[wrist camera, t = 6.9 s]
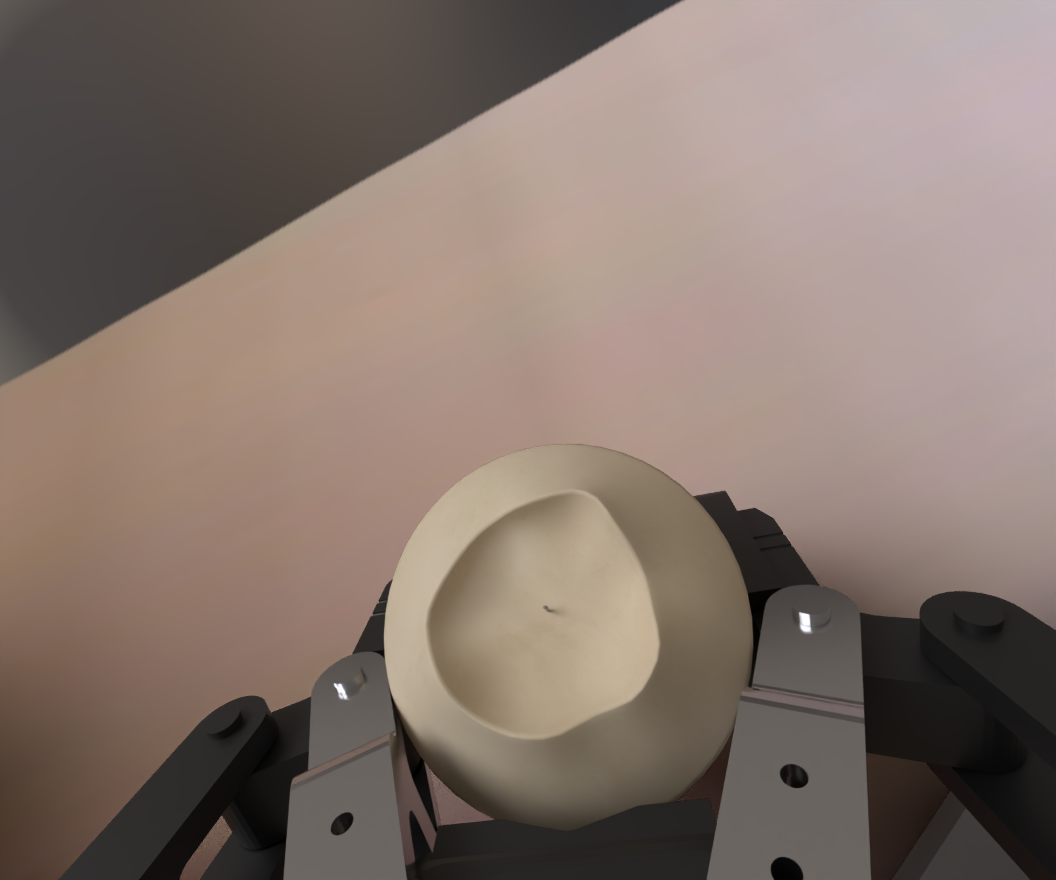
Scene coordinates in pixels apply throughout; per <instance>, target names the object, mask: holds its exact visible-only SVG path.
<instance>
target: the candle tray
mask: <svg viewBox="0 0 1056 880" xmlns="http://www.w3.org/2000/svg"><path fill="white" fill-rule="evenodd" d="M892 880H1030V879H1029V878H1028V877H1027V876H1026V874H1025V873H1024V872H1023V871H1022V870H1021V869H1020V868H1019V867H1018V866H1017V864H1016V863H1015V862H1014V861H1013V860H1012V859H1011V858H1010V857H1009V856H1008V854H1007V853H1006V852H1005V851H1004V850H1003V849H1002V848H1001V847H1000V845H999V844H998V843H997V842H996V841H995V840H994V839H993V838H992V837H991V835H990V834H989V833H988V832H987V831H986V830H985V829H984V828H983V827H982V825H981V824H980V823H979V822H978V821H977V820H976V819H975V818H974V817H973V815H972V814H971V813H970V812H969V811H968V810H967V809H966V808H965V806H964V805H963V804H962V803H961V802H960V801H959V800H958V799H957V798H956V796H955V795H954V794H953V793H952V792H951V791H950V792H949V794H948V795H947V797H946V798H945V800H944V801H943V803H942V804H941V806H940V807H939V809H938V810H937V812H936V813H935V815H934V816H933V818H932V820H931V821H930V823H929V824H928V826H927V827H926V829H925V830H924V832H923V833H922V835H921V836H920V838H919V839H918V841H917V842H916V844H915V845H914V847H913V848H912V850H911V851H910V853H909V854H908V856H907V857H906V859H905V861H904V862H903V864H902V865H901V867H900V868H899V870H898V871H897V873H896V874H895V876H894V877H893V879H892Z"/></svg>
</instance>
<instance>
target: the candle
mask: <svg viewBox="0 0 1056 880" xmlns="http://www.w3.org/2000/svg"><path fill="white" fill-rule="evenodd" d="M384 650H385V664H386V670H387V676H388V682H389V687H390V690H391V694H392V697H393V700H394V704H395V707H396V710H397V712H398V715H399V717H400V719H401V722H402V724H403V726H404V729H405V731H406V733H407V735H408V737H409V738H410V740H411V742H412V743H413V745H414V747H415V748H416V750H417V752H418V753H419V755H420V756H421V758H422V759H423V760H424V761H425V763H426V764H427V765H428V767H429V768H430V769H431V770H432V772H433V773H434V774H435V775H436V776H437V777H438V778H439V779H440V780H441V781H442V782H443V783H444V784H445V785H446V786H447V787H448V788H449V789H450V790H451V791H452V792H453V793H454V794H455V795H457V796H458V797H460V798H461V799H462V800H464V801H465V802H466V803H468V804H469V805H471V806H472V807H473V808H475V809H476V810H478V811H480V812H482V813H484V814H486V815H487V816H489V817H491V818H493V819H495V820H500V819H502V820H507V821H513V822H518V823H524V824H529V825H535V826H540V827H546V828H551V829H557V830H564V831H569V830H574V829H577V828H580V827H583V826H585V825H588V824H591V823H593V822H596V821H599V820H601V819H604V818H607V817H609V816H612V815H615V814H617V813H620V812H623V811H625V810H628V809H631V808H633V807H636V806H639V805H647V804H657V803H667V802H674V801H676V800H677V799H679V798H680V797H681V796H683V795H684V794H685V793H686V792H687V791H688V790H689V789H690V788H691V787H692V786H693V785H694V784H695V783H696V782H697V781H698V780H699V779H700V778H701V777H702V776H703V775H704V774H705V773H706V772H707V770H708V769H709V768H710V766H711V765H712V764H713V762H714V761H715V760H716V758H717V757H718V756H719V754H720V753H721V751H722V750H723V748H724V746H725V744H726V742H727V741H728V739H729V737H730V735H731V733H732V732H733V730H734V728H735V722H736V717H737V711H738V706H739V700H740V696H741V692H742V689H743V688H744V687H745V686H746V687H748V684H749V680H750V675H751V667H752V655H753V628H752V615H751V610H750V604H749V599H748V593H747V589H746V586H745V583H744V580H743V577H742V573H741V570H740V567H739V565H738V562H737V560H736V558H735V556H734V554H733V552H732V550H731V547H730V545H729V543H728V541H727V540H726V538H725V537H724V535H723V533H722V532H721V530H720V529H719V527H718V526H717V524H716V522H715V521H714V520H713V518H712V517H711V516H710V515H709V514H708V512H707V511H706V510H705V509H704V508H703V506H702V505H701V504H700V503H699V502H698V501H697V500H696V499H695V498H694V497H693V496H692V495H691V494H690V493H689V492H688V491H687V490H686V489H685V488H684V487H683V486H681V485H680V484H679V483H677V482H676V481H675V480H673V479H672V478H670V477H669V476H668V475H666V474H665V473H664V472H662V471H660V470H658V469H657V468H655V467H653V466H651V465H649V464H648V463H646V462H644V461H642V460H639V459H637V458H634V457H632V456H629V455H627V454H624V453H622V452H618V451H614V450H610V449H606V448H603V447H597V446H589V445H582V444H554V445H545V446H537V447H533V448H528V449H524V450H520V451H516V452H513V453H511V454H508V455H505V456H503V457H500V458H497V459H495V460H493V461H491V462H489V463H487V464H485V465H483V466H481V467H480V468H478V469H476V470H475V471H473V472H472V473H470V474H469V475H467V476H466V477H464V478H463V479H461V480H460V481H459V482H458V483H457V484H455V485H454V486H453V487H452V488H451V489H449V490H448V491H447V492H446V493H445V494H444V495H443V496H442V497H441V498H440V499H439V500H438V501H437V502H436V503H435V504H434V506H433V507H432V508H431V509H430V510H429V511H428V513H427V514H426V515H425V517H424V518H423V519H422V521H421V522H420V523H419V525H418V526H417V528H416V529H415V531H414V533H413V535H412V536H411V538H410V540H409V541H408V543H407V545H406V547H405V549H404V551H403V554H402V556H401V558H400V560H399V563H398V565H397V567H396V571H395V574H394V577H393V581H392V584H391V587H390V591H389V596H388V602H387V607H386V613H385V627H384Z"/></svg>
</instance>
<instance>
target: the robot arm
mask: <svg viewBox="0 0 1056 880" xmlns="http://www.w3.org/2000/svg"><path fill="white" fill-rule="evenodd" d="M693 497H694V498H695V499H696V500H697V501H698V502H699V503H700V504H701V505H702V506H703V508H704V509H705V510H706V511H707V512H708V514H709V515H710V516H711V517H712V518H713V520H714V521H715V522H716V524H717V526H718V527H719V529H720V530H721V532H722V533H723V535H724V537H725V538H726V540H727V541H728V543H729V545H730V547H731V550H732V552H733V554H734V556H735V558H736V560H737V562H738V565H739V567H740V570H741V573H742V577H743V580H744V583H745V586H746V589H747V593H748V599H749V604H750V610H751V615H752V628H753V655H752V667H751V675H750V680H749V684H748V687H746V686H745V687H744V688H743V689H742V692H741V696H740V700H739V706H738V711H737V717H736V722H735V728H734V733H733V738H732V744H731V749H730V755H729V760H728V766H727V771H726V777H725V782H724V787H723V793H722V798H721V804H720V809H719V815H718V820H717V823H715V819H714V815H713V811H712V807H711V803H710V799H709V798H706V799H696V800H686V801H676V802H667V803H657V804H647V805H639V806H636V807H633V808H631V809H628V810H625V811H623V812H620V813H617V814H615V815H612V816H609V817H607V818H604V819H601V820H599V821H596V822H593V823H591V824H588V825H585V826H583V827H580V828H577V829H574V830H569V831H564V830H557V829H551V828H546V827H540V826H535V825H529V824H524V823H518V822H513V821H507V820H502V819H500V820H491V821H481V822H471V823H461V824H452V825H441V820H440V815H439V811H438V806H437V801H436V796H435V791H434V787H433V782H432V777H431V772H430V768H429V767H428V765H427V764H426V763H425V761H424V760H423V759H422V758H421V756H420V755H419V753H418V752H417V750H416V748H415V747H414V745H413V743H412V742H411V740H410V738H409V737H408V735H407V733H406V731H405V729H404V726H403V724H402V722H401V719H400V717H399V715H398V712H397V710H396V707H395V704H394V700H393V697H392V694H391V690H390V687H389V682H388V676H387V670H386V664H385V650H384V627H385V613H386V607H387V602H388V596H389V591H390V587H391V584H392V581H393V579H392V580H391V581H390V582H389V583H388V584H387V585H386V587H385V589H384V591H383V593H382V595H381V597H380V599H379V603H378V604H377V605H376V607H375V609H374V611H373V616H371V617H370V619H369V621H368V623H367V625H366V627H365V629H364V631H363V633H362V635H361V637H360V639H359V641H358V643H357V645H356V647H355V650H354V652H353V654H352V655H350V656H347V657H345V658H343V659H341V660H339V661H338V662H336V663H335V664H333V665H332V666H330V667H329V668H328V669H327V670H326V671H325V672H324V673H323V674H322V675H321V676H320V677H319V679H318V680H317V681H316V683H315V685H314V687H313V690H312V694H311V697H309V698H307V699H305V700H302V701H300V702H297V703H295V704H292V705H290V706H287V707H284V708H282V709H279V710H277V711H274V712H272V713H271V711H270V710H269V708H268V706H267V704H266V702H265V700H264V699H262V698H261V697H258V696H246V697H241V698H238V699H235V700H233V701H230V702H228V703H226V704H224V705H223V706H221V707H219V708H218V709H216V710H215V711H213V712H212V713H211V714H209V715H208V716H207V717H206V718H205V719H203V720H202V721H201V722H200V723H199V724H198V725H197V726H196V728H195V729H194V730H193V731H192V732H191V733H190V734H189V735H188V736H187V738H186V739H185V740H184V741H183V742H182V743H181V744H180V745H179V746H178V748H177V749H176V750H175V751H174V752H173V753H172V754H171V755H170V757H169V758H168V759H167V760H166V761H165V762H164V763H163V764H162V765H161V767H160V768H159V769H158V770H157V771H156V772H155V773H154V774H153V775H152V777H151V778H150V779H149V780H148V781H147V782H146V783H145V784H144V785H143V787H142V788H141V789H140V790H139V791H138V792H137V793H136V794H135V795H134V797H133V798H132V799H131V800H130V801H129V802H128V803H127V804H126V805H125V807H124V808H123V809H122V810H121V811H120V812H119V813H118V814H117V815H116V817H115V818H114V819H113V820H112V821H111V822H110V823H109V824H108V825H107V827H106V828H105V829H104V830H103V831H102V832H101V833H100V834H99V835H98V837H97V838H96V839H95V840H94V841H93V842H92V843H91V844H90V845H89V847H88V848H87V849H86V850H85V851H84V852H83V853H82V854H81V855H80V857H79V858H78V859H77V860H76V861H75V862H74V863H73V864H72V865H71V867H70V868H69V869H68V870H67V871H66V872H65V873H64V874H63V875H62V877H61V878H60V879H59V880H179V879H180V876H181V873H182V871H183V869H184V867H185V865H186V863H187V862H188V860H189V859H190V857H191V856H192V855H193V853H194V852H195V851H196V849H197V848H198V846H199V845H200V844H201V842H202V841H203V840H204V838H205V837H206V836H207V834H208V833H209V831H210V830H211V829H212V827H213V826H214V825H215V823H216V822H217V821H218V819H219V818H220V816H221V815H222V816H223V818H224V819H225V821H226V823H227V824H228V826H229V827H230V829H231V830H232V832H233V833H232V834H231V835H230V837H229V838H228V840H227V841H226V843H225V844H224V845H223V847H222V848H221V850H220V851H219V853H218V854H217V856H216V857H215V858H214V860H213V861H212V863H211V864H210V866H209V867H208V869H207V870H206V871H205V873H204V874H203V876H202V877H201V879H200V880H871V864H870V840H869V816H868V792H867V768H866V752H867V753H873V754H879V755H885V756H891V757H897V758H903V759H909V760H915V761H921V762H926V763H927V765H928V766H929V767H930V769H931V770H932V771H933V772H934V773H935V774H936V775H937V776H938V778H939V779H940V780H941V781H942V782H943V783H944V784H945V785H946V786H947V788H948V789H949V790H950V791H951V792H952V793H953V794H954V795H955V796H956V798H957V799H958V800H959V801H960V802H961V803H962V804H963V805H964V806H965V808H966V809H967V810H968V811H969V812H970V813H971V814H972V815H973V817H974V818H975V819H976V820H977V821H978V822H979V823H980V824H981V825H982V827H983V828H984V829H985V830H986V831H987V832H988V833H989V834H990V835H991V837H992V838H993V839H994V840H995V841H996V842H997V843H998V844H999V845H1000V847H1001V848H1002V849H1003V850H1004V851H1005V852H1006V853H1007V854H1008V856H1009V857H1010V858H1011V859H1012V860H1013V861H1014V862H1015V863H1016V864H1017V866H1018V867H1019V868H1020V869H1021V870H1022V871H1023V872H1024V873H1025V874H1026V876H1027V877H1028V878H1029V879H1030V880H1056V630H1054V629H1053V628H1051V627H1050V626H1048V625H1047V624H1045V623H1043V622H1042V621H1040V620H1039V619H1037V618H1036V617H1034V616H1033V615H1031V614H1030V613H1028V612H1026V611H1025V610H1023V609H1022V608H1020V607H1018V606H1016V605H1015V604H1013V603H1010V602H1008V601H1006V600H1003V599H1001V598H998V597H995V596H991V595H987V594H982V593H976V592H966V591H955V592H946V593H941V594H938V595H935V596H932V597H931V598H929V599H927V600H926V601H925V602H924V603H923V604H922V606H921V608H920V619H912V618H898V617H884V616H875V615H869V614H864V613H860V612H859V610H858V608H857V606H856V605H855V604H854V602H853V601H852V600H850V599H849V598H848V597H847V596H845V595H844V594H842V593H840V592H838V591H836V590H833V589H830V588H827V587H822V586H820V585H819V584H818V582H817V581H816V579H815V578H814V577H813V575H812V574H811V572H810V571H809V569H808V568H807V566H806V565H805V563H804V562H803V561H802V559H801V558H800V556H799V555H798V553H797V552H796V550H795V549H794V548H793V547H792V546H791V543H790V542H789V540H788V539H787V537H786V536H785V535H783V532H782V530H781V529H780V527H779V526H778V524H777V523H776V521H775V520H774V518H772V517H770V516H769V515H767V514H765V513H763V512H761V511H760V510H758V509H756V508H752V509H746V510H740V511H737V510H736V508H735V506H734V505H733V503H732V501H731V499H730V498H729V496H728V494H727V493H726V491H720V492H714V493H708V494H703V495H697V496H693Z"/></svg>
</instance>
